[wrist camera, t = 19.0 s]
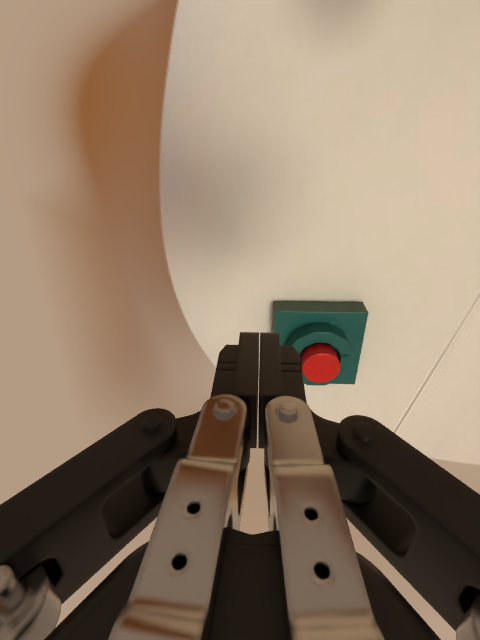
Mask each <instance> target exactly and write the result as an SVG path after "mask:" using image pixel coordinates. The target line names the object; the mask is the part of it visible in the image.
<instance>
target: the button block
mask: <svg viewBox="0 0 480 640" xmlns="http://www.w3.org/2000/svg"><path fill="white" fill-rule="evenodd" d="M367 316H368V311H367V309H366V307H365V306H364V304H363V302H283V301H275V302H274V323H273V333H279V340H280V346H293V347H294V348H295V349H296V351H297V352H298V353H299V355H300V362H301V355H302V353H303V351H304V350H305V349H306V348H307V347H309V346H311V345H313V344H318V343H322V344H327V345H329V346H331V347H332V348H334V350H335V351H336V353H337V356H338V359H339V362H340V371H339V373H338V375H337V376H336V377H335V378H334V379H332V380H331V381H328V382H325V383H316V382H312V381H310V380H308V379H307V378H306V377H305V376H304V374H303V371H302V376H303V383H305V384H307V385H327V384H355V380H356V374H357V369H358V364H359V359H360V353H361V348H362V343H363V337H364V332H365V327H366V322H367ZM301 369H302V365H301Z"/></svg>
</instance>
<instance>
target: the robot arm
mask: <svg viewBox="0 0 480 640" xmlns="http://www.w3.org/2000/svg"><path fill="white" fill-rule="evenodd" d="M258 375H259V448H264V476H265V488H266V500H267V513H268V527H269V532H264V533H260V534H255V535H251V534H247V533H244V532H241V531H240V522H241V515H242V508H243V500H244V493H245V486H246V479H247V472H248V463H249V459H250V448H256V443H257V411H258ZM156 517H157V520H156V523H155V526H154V529H153V532H152V534H151V537H150V540H149V542H147V543H145V544H144V545H142V546H140V547H139V548H137V549H136V550H135V551H134V552H132V553H131V554H130V555H129V556H128V557H126V558H125V559H124V560H123V561H122V562H121V563H120V564H119V565H118V566H117V567H116V568H115V570H113V571H112V572H111V573H110V574H109V575H108V576H107V577H106V578H105V579H104V580H103V581H102V582H101V583H100V584H99V585H98V586H97V587H96V588H95V589H94V590H93V591H92V592H91V593H90V594H89V595H88V596H87V597H86V598H85V599H84V600H83V601H82V602H81V603H80V604H79V605H78V606H77V607H76V608H75V609H74V610H73V611H72V612H71V613H70V614H69V615H68V616H67V617H66V618H65V619H64V620H63V621H62V622H61V623H60V624H59V625H58V626H57V627H56V624H57V622H58V619H59V616H60V612H61V605H62V603H64V602H65V601H66V600H67V599H68V598H69V597H70V596H71V595H72V594H73V593H75V592H76V591H77V590H78V589H79V588H80V587H81V586H82V585H83V584H84V583H86V582H87V581H88V580H89V579H90V578H91V577H92V576H93V575H94V574H95V573H96V572H97V571H99V570H100V569H101V568H102V567H103V566H104V565H105V564H106V563H107V562H108V561H110V560H111V559H112V558H113V557H114V556H115V555H116V554H117V553H118V552H119V551H120V550H121V549H122V548H124V547H125V546H126V545H127V544H128V543H129V542H130V541H131V540H132V539H134V538H135V537H136V536H137V535H138V534H139V533H140V532H141V531H142V530H143V529H144V528H146V527H147V526H148V525H149V524H150V523H151V522H152V521H153V520H154V519H155V518H156ZM346 518H347V519H348V520H349V521H350V522H351V523H352V524H353V525H354V526H355V527H356V528H357V529H358V530H359V531H360V532H361V533H362V534H363V536H365V538H366V539H367V540H368V541H369V542H370V543H371V544H372V545H373V546H374V547H375V548H376V549H377V550H378V551H379V552H380V553H381V554H382V555H383V556H384V557H385V558H386V559H387V560H388V561H389V563H390V564H391V565H392V566H393V567H394V568H395V569H396V570H397V571H398V572H399V573H400V574H401V575H402V576H403V577H404V578H405V579H406V580H407V581H408V582H409V583H410V584H411V585H412V586H413V587H414V589H415V590H417V592H418V593H419V594H420V595H421V596H422V597H423V598H424V599H425V600H426V601H427V602H428V603H429V604H430V605H431V606H432V607H433V608H434V609H435V610H436V611H437V612H438V613H439V614H440V615H441V616H442V617H443V618H444V620H446V622H447V623H448V624H449V625H450V626H451V627H452V628H453V629H454V630H455V631H456V640H480V495H479V494H478V493H476V492H475V491H474V490H472V489H471V488H470V487H468V486H467V485H465V484H464V483H463V482H461V481H460V480H458V479H457V478H456V477H454V476H453V475H452V474H450V473H449V472H447V471H446V470H445V469H443V468H442V467H440V466H439V465H438V464H436V463H435V462H433V461H432V460H431V459H429V458H428V457H427V456H425V455H424V454H422V453H421V452H420V451H418V450H417V449H415V448H414V447H413V446H411V445H410V444H408V443H407V442H406V441H404V440H403V439H402V438H400V437H399V436H397V435H396V434H395V433H393V432H392V431H390V430H389V429H388V428H386V427H385V426H384V425H382V424H381V423H379V422H378V421H376V420H374V419H372V418H369V417H366V416H361V415H354V416H349V417H347V418H345V419H343V420H342V421H341V422H340V423H336V422H333V421H329V420H326V419H323V418H321V417H319V416H318V415H316V414H315V413H314V412H312V411H311V409H310V408H309V406H308V405H307V402H306V397H305V390H304V383H303V376H302V369H301V362H300V355H299V353H298V352H297V351H296V349H295V348H294V347H293V346H280V340H279V333H260V369H259V333H250V332H240V338H239V345H226V346H225V347H224V348H223V349H222V350H221V351H220V353H219V358H218V363H217V368H216V373H215V377H214V382H213V388H212V392H211V398H210V399H209V400H207V401H206V402H205V404H204V405H203V407H202V410H201V411H199V412H197V413H195V414H193V415H189V416H185V417H181V418H176V419H175V416H174V415H173V414H172V413H171V412H169V411H168V410H165V409H160V408H156V409H149V410H146V411H144V412H142V413H140V414H138V415H137V416H135V417H134V418H132V419H131V420H129V421H127V422H126V423H125V424H123V425H121V426H120V427H118V428H117V429H115V430H114V431H112V432H111V433H109V434H108V435H106V436H105V437H103V438H102V439H100V440H98V441H97V442H95V443H94V444H93V445H91V446H89V447H88V448H86V449H85V450H83V451H82V452H80V453H79V454H77V455H76V456H74V457H73V458H71V459H70V460H68V461H66V462H65V463H63V464H62V465H60V466H59V467H57V468H56V469H54V470H53V471H51V472H50V473H48V474H47V475H45V476H44V477H42V478H41V479H39V480H38V481H36V482H35V483H33V484H31V485H30V486H28V487H27V488H25V489H24V490H22V491H21V492H19V493H18V494H16V495H15V496H13V497H12V498H10V499H9V500H7V501H6V502H4V503H3V504H1V505H0V640H441V639H440V638H439V637H438V636H437V635H436V634H435V632H434V631H433V630H432V629H431V628H430V627H429V626H428V625H427V623H426V622H425V621H424V620H423V619H422V618H421V616H420V615H419V614H418V613H417V612H416V611H415V610H414V609H413V607H412V606H411V605H410V604H409V603H408V602H407V601H406V599H405V598H404V597H403V596H402V595H401V594H400V593H399V591H398V590H397V589H396V588H395V587H394V586H393V585H392V583H391V582H390V581H389V580H388V579H387V578H386V577H385V576H384V575H383V573H382V572H381V571H380V570H379V569H378V568H377V567H375V566H374V565H373V564H372V563H371V562H370V561H368V560H367V559H366V558H365V557H363V556H362V555H360V554H359V553H357V552H356V551H355V548H354V544H353V541H352V538H351V534H350V530H349V527H348V523H347V519H346ZM55 627H56V628H55ZM54 628H55V629H54Z"/></svg>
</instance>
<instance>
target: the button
mask: <svg viewBox="0 0 480 640" xmlns="http://www.w3.org/2000/svg"><path fill="white" fill-rule="evenodd" d="M301 365H302V371H303V374H304V376H305V377H306V378H307V379H308V380H310V381H312V382H316V383H325V382H328V381H331V380H332V379H334V378H335V377H336V376H337V375H338V373H339V371H340V362H339V359H338V356H337V353H336V351H335V350H334V348H332V347H331V346H329V345H327V344H322V343H318V344H313V345H311V346H309V347H307V348H306V349H305V350H304V351H303V353H302V355H301Z"/></svg>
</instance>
